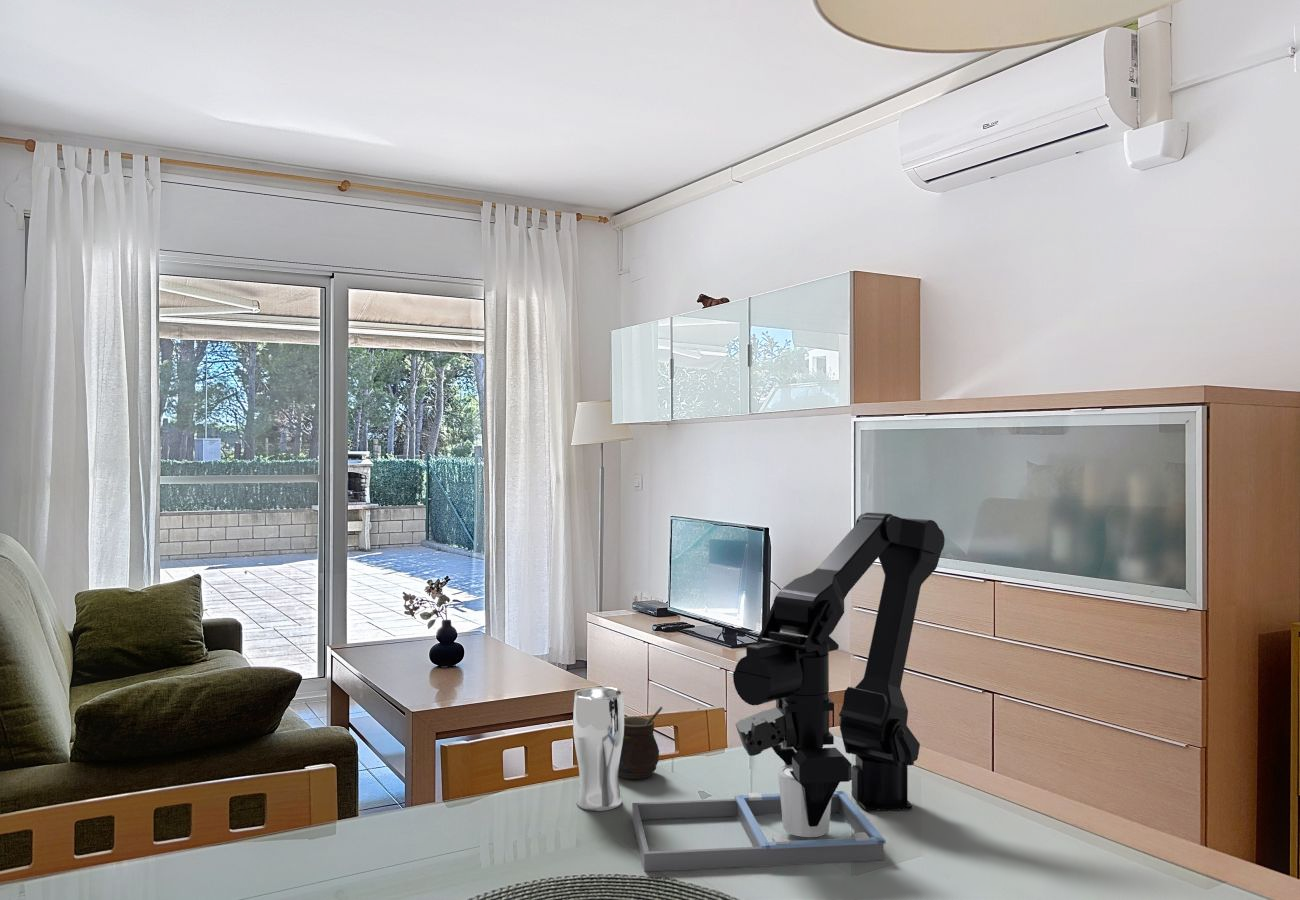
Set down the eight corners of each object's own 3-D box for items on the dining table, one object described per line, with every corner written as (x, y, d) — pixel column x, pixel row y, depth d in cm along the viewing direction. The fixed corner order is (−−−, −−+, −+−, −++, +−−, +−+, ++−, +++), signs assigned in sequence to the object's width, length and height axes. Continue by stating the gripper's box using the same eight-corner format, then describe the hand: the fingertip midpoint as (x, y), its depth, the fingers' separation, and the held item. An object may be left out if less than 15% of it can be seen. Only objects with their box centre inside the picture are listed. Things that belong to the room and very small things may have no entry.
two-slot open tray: (843, 809, 130) (843, 788, 130) (885, 860, 114) (885, 837, 114) (632, 817, 128) (632, 797, 128) (644, 872, 111) (644, 848, 111)
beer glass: (627, 794, 136) (627, 686, 136) (621, 813, 129) (621, 699, 129) (578, 793, 137) (577, 685, 137) (569, 811, 130) (568, 698, 130)
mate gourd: (605, 769, 147) (606, 702, 147) (654, 765, 149) (655, 699, 149) (615, 784, 140) (616, 714, 140) (666, 781, 142) (667, 711, 142)
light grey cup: (837, 821, 124) (837, 765, 124) (829, 842, 117) (829, 783, 117) (783, 814, 126) (783, 760, 126) (772, 834, 119) (772, 777, 119)
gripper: (727, 674, 130) (728, 792, 130) (757, 712, 111) (758, 850, 111) (809, 672, 131) (810, 788, 131) (852, 709, 113) (853, 845, 113)
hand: (805, 815), depth 122 cm, fingers closed on light grey cup, 6 cm apart
